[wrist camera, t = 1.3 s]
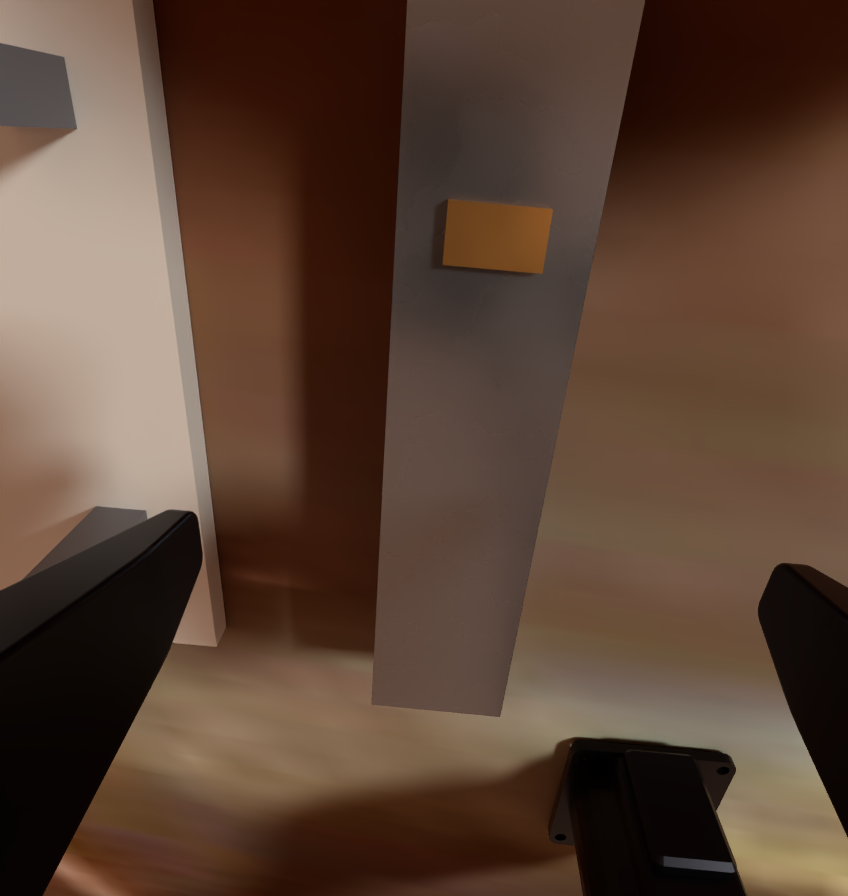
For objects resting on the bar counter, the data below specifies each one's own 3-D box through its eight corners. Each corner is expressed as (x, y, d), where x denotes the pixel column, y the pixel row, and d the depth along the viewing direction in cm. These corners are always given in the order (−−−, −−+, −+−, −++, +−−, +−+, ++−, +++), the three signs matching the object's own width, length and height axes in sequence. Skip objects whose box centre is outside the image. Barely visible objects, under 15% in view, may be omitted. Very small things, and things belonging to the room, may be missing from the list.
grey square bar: (493, 623, 22) (500, 725, 18) (385, 612, 22) (370, 713, 18) (616, -79, 12) (685, -178, 9) (428, -94, 12) (415, -200, 9)
